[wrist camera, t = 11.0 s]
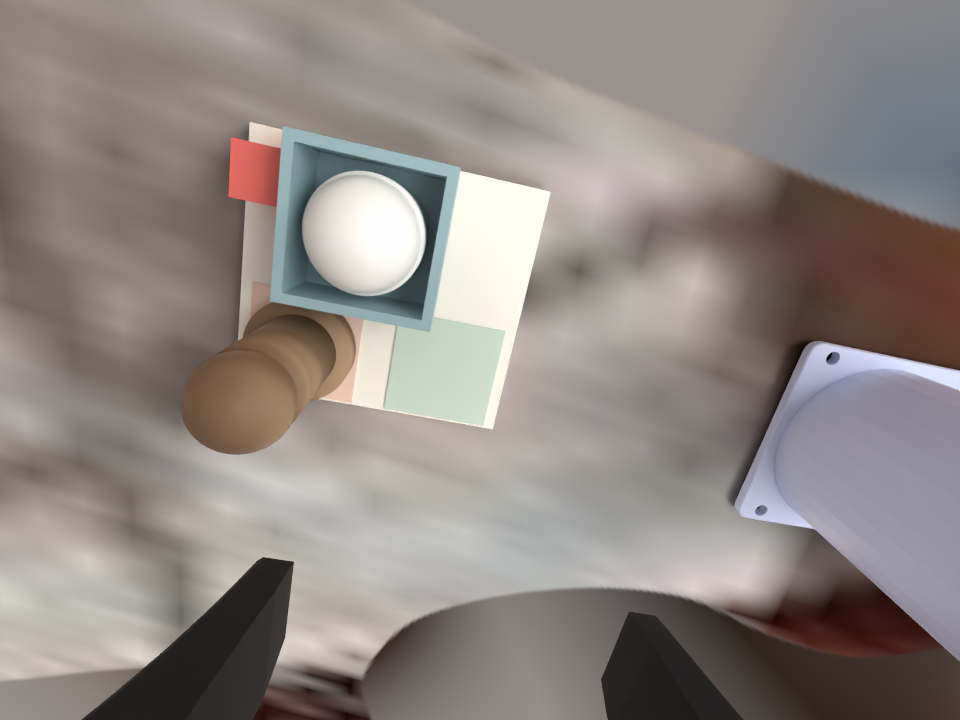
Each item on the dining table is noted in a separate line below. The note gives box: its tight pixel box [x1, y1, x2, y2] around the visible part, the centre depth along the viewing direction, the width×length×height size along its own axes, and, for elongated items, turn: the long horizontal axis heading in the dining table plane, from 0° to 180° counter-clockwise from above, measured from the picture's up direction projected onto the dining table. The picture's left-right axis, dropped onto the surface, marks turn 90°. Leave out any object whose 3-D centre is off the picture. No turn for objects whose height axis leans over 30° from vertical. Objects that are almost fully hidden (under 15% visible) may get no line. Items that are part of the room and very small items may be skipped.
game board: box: [228, 122, 551, 429], centre depth 16 cm, size 10×9×2 cm
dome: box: [302, 171, 428, 296], centre depth 13 cm, size 3×3×3 cm
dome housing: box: [270, 126, 460, 332], centre depth 14 cm, size 5×5×3 cm
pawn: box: [180, 302, 356, 454], centre depth 13 cm, size 4×4×6 cm
